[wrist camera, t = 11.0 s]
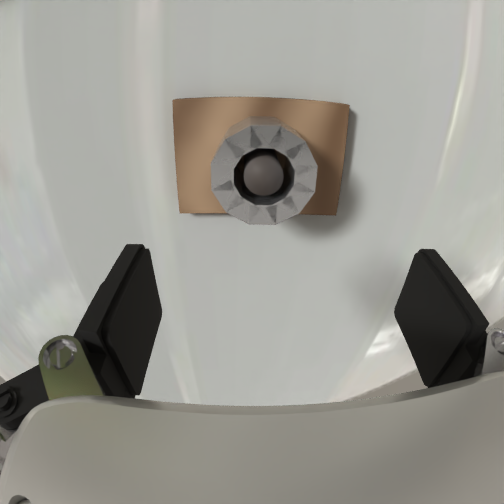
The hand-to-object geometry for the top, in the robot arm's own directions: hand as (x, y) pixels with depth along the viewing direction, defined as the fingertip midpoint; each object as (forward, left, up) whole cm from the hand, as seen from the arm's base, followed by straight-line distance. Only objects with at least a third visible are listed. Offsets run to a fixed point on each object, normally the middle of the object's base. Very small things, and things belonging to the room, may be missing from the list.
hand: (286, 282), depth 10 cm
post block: (0, 0, -17) cm, 17 cm away
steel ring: (0, 0, -16) cm, 16 cm away
